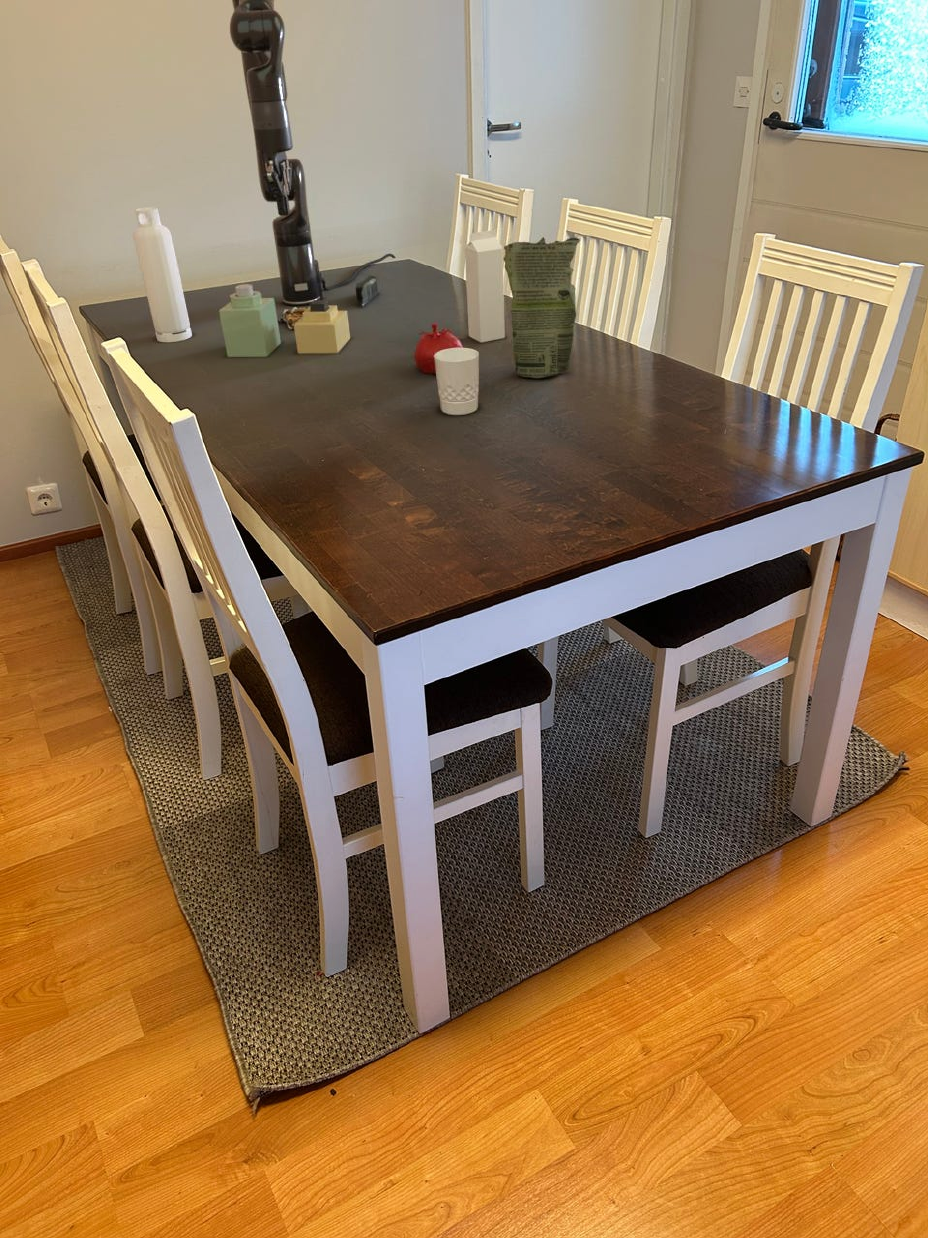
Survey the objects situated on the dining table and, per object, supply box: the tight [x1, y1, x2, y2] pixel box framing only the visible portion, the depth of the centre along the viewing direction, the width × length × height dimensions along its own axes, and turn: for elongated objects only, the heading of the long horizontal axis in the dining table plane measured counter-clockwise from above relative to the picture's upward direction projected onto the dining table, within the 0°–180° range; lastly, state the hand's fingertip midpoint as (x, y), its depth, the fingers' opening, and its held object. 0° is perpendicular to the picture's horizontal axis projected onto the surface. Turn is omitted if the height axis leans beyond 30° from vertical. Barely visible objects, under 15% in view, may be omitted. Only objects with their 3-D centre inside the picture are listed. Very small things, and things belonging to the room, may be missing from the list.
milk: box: [464, 229, 505, 344], centre depth 200 cm, size 6×6×22 cm
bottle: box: [132, 206, 193, 343], centre depth 211 cm, size 8×8×28 cm
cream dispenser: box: [293, 305, 351, 354], centre depth 205 cm, size 11×9×8 cm
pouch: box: [503, 236, 581, 379], centre depth 178 cm, size 11×12×25 cm
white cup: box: [434, 347, 480, 416], centre depth 167 cm, size 8×8×10 cm
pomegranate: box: [413, 323, 464, 375], centre depth 186 cm, size 10×10×9 cm
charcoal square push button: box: [309, 299, 330, 312], centre depth 202 cm, size 3×3×2 cm
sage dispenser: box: [218, 290, 282, 358], centre depth 204 cm, size 10×9×12 cm
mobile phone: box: [355, 275, 379, 308], centre depth 238 cm, size 5×3×15 cm
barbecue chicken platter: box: [278, 306, 307, 330], centre depth 222 cm, size 7×12×4 cm, turn 29°
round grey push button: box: [235, 283, 254, 297], centre depth 200 cm, size 4×4×2 cm
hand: (284, 214), depth 202 cm, fingers closed
